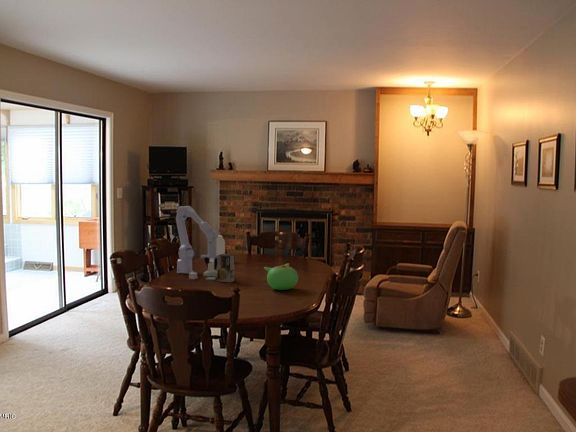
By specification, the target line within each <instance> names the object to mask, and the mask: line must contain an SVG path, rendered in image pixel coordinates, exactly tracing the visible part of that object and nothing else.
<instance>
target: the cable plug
mask: <svg viewBox="0 0 576 432" xmlns="http://www.w3.org/2000/svg"><path fill="white" fill-rule="evenodd" d="M188 279H189V280H198V279H199V276H198V272H191V273H189V274H188Z"/></svg>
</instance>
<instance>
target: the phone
mask: <svg viewBox="0 0 576 432" xmlns="http://www.w3.org/2000/svg"><path fill="white" fill-rule="evenodd" d="M204 281H210V282H212V281H213V282H215V281H217V277H216V276H206V278H204Z"/></svg>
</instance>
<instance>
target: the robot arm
mask: <svg viewBox="0 0 576 432" xmlns="http://www.w3.org/2000/svg"><path fill="white" fill-rule="evenodd" d="M187 218H191V219H192V220H193V221H194V222H195V223H197V224H198V226H199V229H200V230H201V231H202V232H203V233H204V234H205V237H206V239H207V254H200V259H203V260H204V262H205V264H206V269H207V270H208V263H210V257H215V258H212V259H214V270H216V271H217V256H218V255H216V251H217V237H218V235H219V232H218V230H217V229H214V228H213V227H212V226H211V225H210V224H209V222H208V221H204V220H202V218H201V217H200V216H199V215H198V213H197V212H196V211H195V209H194V208H192V206H191V205H184V206H183V205H181V206H178V208H177V209H176V216H175V222H176V228H177V233H178V237H179V242H180V247H179V248H178V251H179V253H178V256H179V258H178V259H177V262H176V274H188V275H189V273H191V272H193V273H195V270H193V257H194V256H195V251H194V249H193V247H192V245H191V243H190V241H189V236H188V232H187V231H188V230H187V226H186V220H187Z"/></svg>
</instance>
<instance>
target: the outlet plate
mask: <svg viewBox="0 0 576 432" xmlns="http://www.w3.org/2000/svg"><path fill="white" fill-rule="evenodd" d="M202 276H203V277H217V270H216V272H215V273H208V269H207V270H206V271H204V272H202Z"/></svg>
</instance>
